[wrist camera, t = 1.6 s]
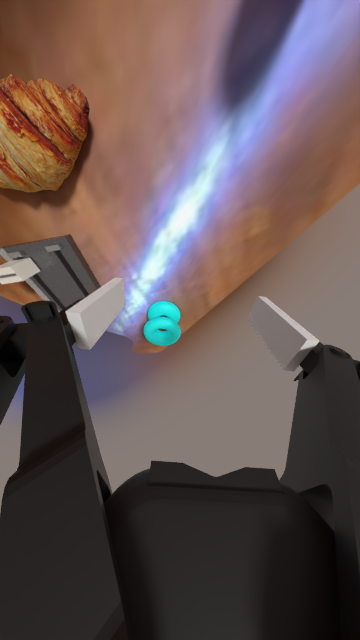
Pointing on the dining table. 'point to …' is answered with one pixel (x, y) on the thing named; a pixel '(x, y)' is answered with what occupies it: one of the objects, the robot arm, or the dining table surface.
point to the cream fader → (17, 270)
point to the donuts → (162, 324)
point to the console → (56, 269)
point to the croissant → (39, 133)
